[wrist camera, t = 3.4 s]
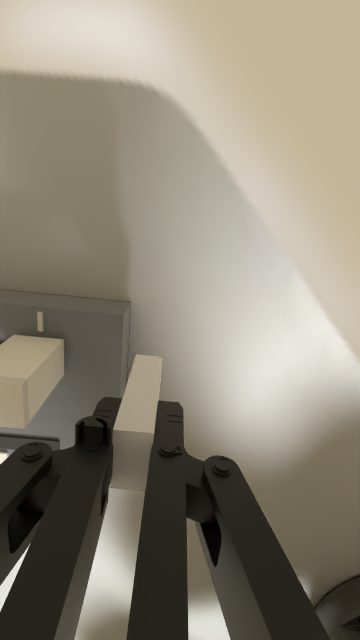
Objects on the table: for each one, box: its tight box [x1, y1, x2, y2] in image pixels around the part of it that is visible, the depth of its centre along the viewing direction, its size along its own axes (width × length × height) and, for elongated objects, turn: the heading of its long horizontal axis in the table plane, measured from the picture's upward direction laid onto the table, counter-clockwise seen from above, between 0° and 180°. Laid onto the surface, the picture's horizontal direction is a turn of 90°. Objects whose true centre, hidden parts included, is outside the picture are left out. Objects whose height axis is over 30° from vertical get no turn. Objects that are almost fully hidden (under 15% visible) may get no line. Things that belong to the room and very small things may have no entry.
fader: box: [0, 335, 64, 429], centre depth 18 cm, size 3×2×6 cm
